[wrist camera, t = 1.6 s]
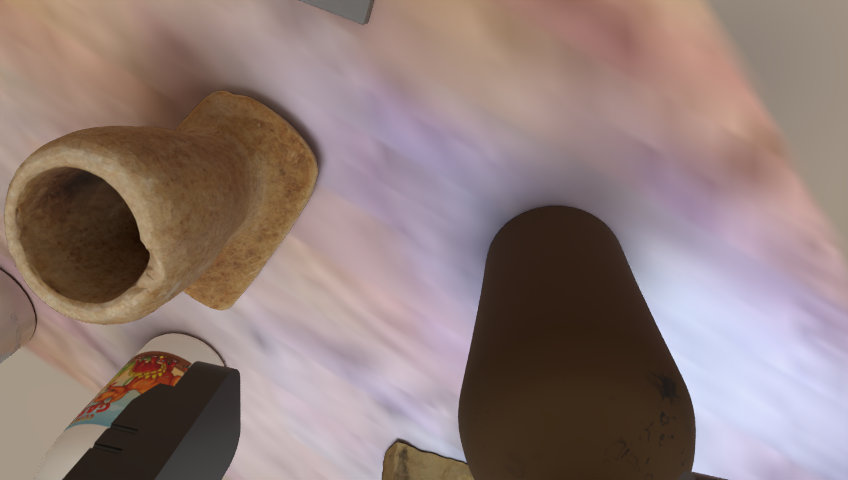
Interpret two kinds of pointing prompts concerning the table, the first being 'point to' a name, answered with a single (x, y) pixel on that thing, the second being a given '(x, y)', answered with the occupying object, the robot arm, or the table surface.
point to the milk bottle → (124, 397)
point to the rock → (421, 465)
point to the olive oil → (569, 362)
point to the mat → (346, 8)
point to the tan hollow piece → (158, 210)
